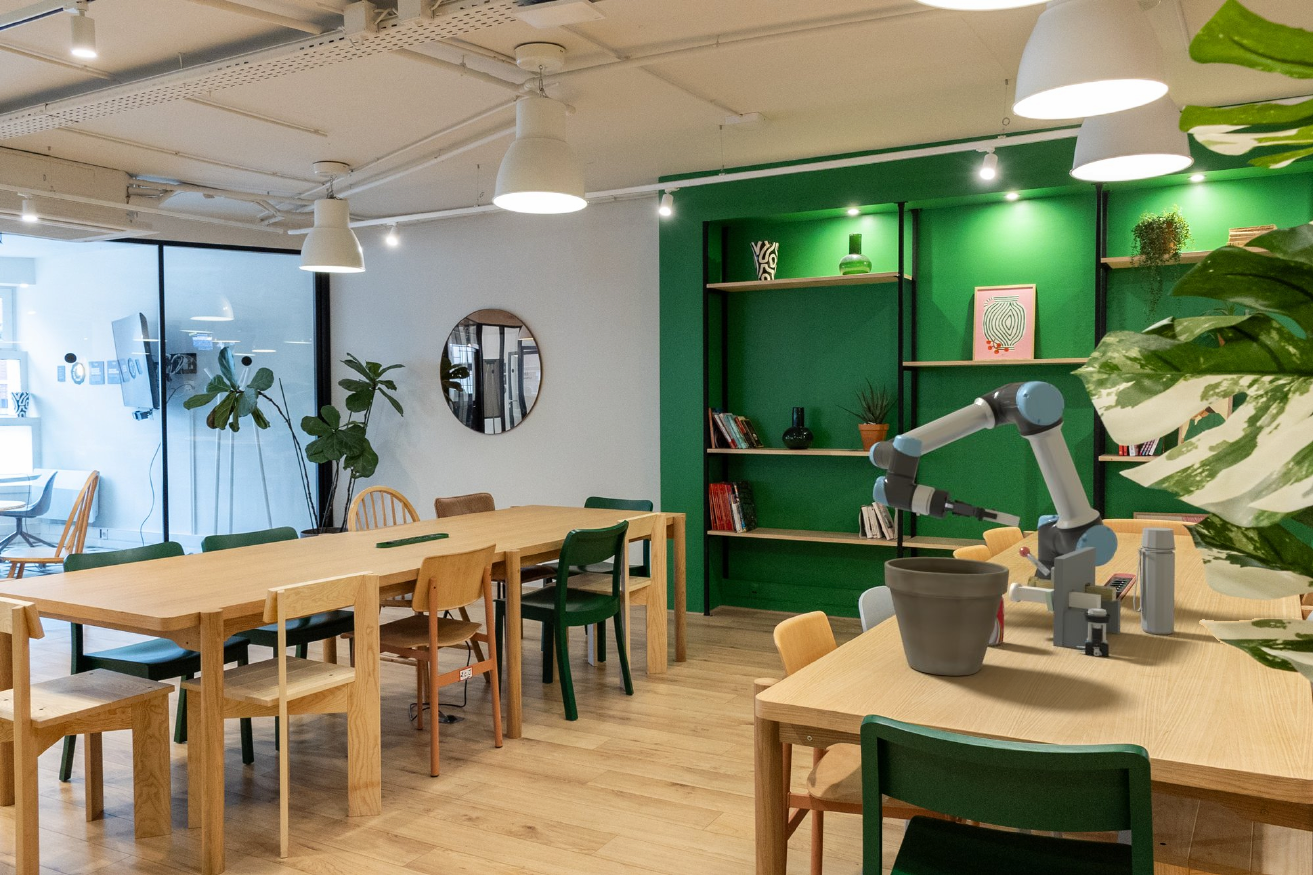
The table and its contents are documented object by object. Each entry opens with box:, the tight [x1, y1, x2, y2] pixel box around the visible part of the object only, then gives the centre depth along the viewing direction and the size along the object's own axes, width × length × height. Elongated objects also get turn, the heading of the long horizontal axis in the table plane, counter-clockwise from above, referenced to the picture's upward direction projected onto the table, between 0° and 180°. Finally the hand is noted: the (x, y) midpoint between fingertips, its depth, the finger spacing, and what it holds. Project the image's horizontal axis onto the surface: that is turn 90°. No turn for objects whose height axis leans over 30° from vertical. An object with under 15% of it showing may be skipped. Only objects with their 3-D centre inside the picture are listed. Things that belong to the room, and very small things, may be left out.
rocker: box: [1045, 590, 1054, 612], centre depth 225 cm, size 3×1×4 cm, turn 140°
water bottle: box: [1132, 526, 1176, 636], centre depth 236 cm, size 9×8×25 cm
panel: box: [1051, 547, 1122, 651], centre depth 230 cm, size 24×9×20 cm, turn 140°
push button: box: [1076, 608, 1111, 658], centre depth 215 cm, size 7×5×10 cm
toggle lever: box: [1018, 546, 1050, 576], centre depth 227 cm, size 2×7×6 cm, turn 50°
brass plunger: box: [1026, 575, 1117, 602], centre depth 238 cm, size 4×20×4 cm, turn 50°
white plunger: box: [1008, 582, 1101, 609], centre depth 228 cm, size 4×20×4 cm, turn 50°
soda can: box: [988, 596, 1005, 647], centre depth 225 cm, size 7×7×12 cm
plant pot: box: [884, 556, 1010, 677], centre depth 204 cm, size 25×25×22 cm
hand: (1015, 521), depth 249 cm, fingers open, 13 cm apart
